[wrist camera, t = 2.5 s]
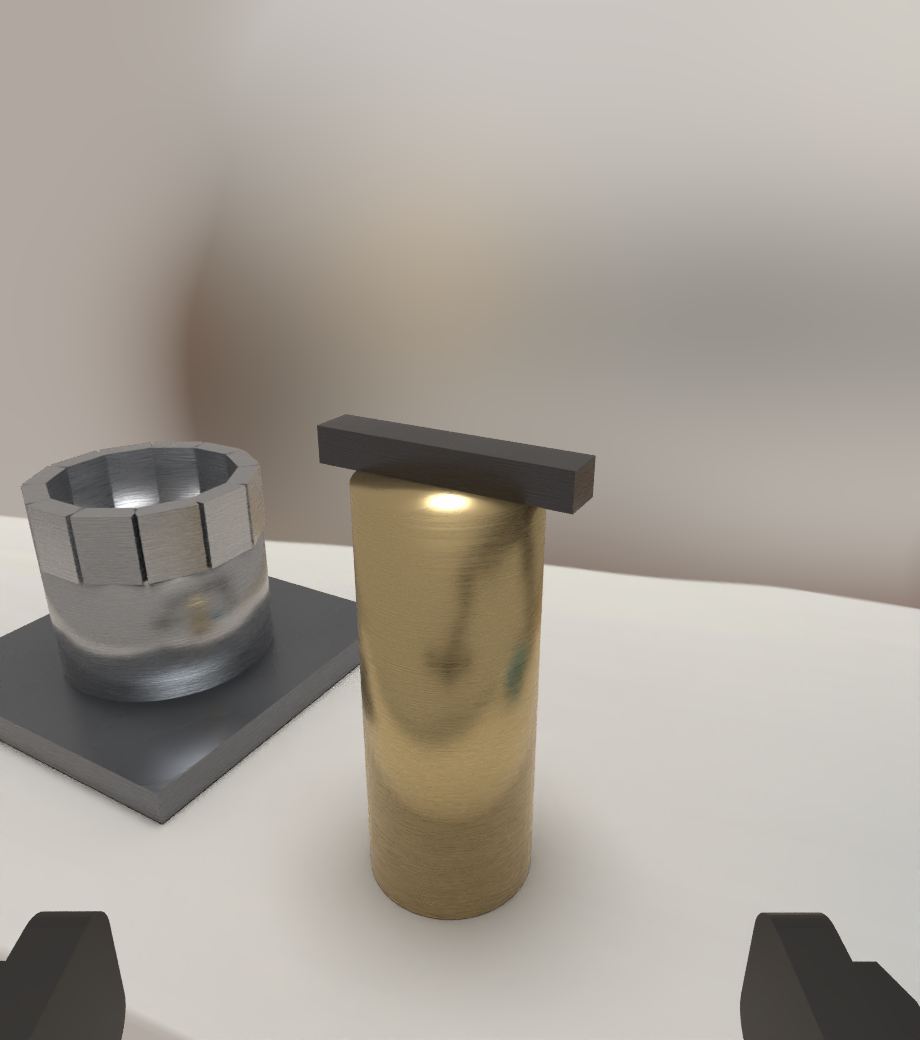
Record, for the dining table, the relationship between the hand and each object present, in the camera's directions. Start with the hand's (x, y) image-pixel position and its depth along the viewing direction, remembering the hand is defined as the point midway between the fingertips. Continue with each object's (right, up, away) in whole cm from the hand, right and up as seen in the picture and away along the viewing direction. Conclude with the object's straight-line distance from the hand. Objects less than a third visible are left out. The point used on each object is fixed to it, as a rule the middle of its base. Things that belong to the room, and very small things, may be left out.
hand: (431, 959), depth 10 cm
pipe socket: (-11, -1, +24) cm, 26 cm away
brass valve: (0, -5, +14) cm, 15 cm away
